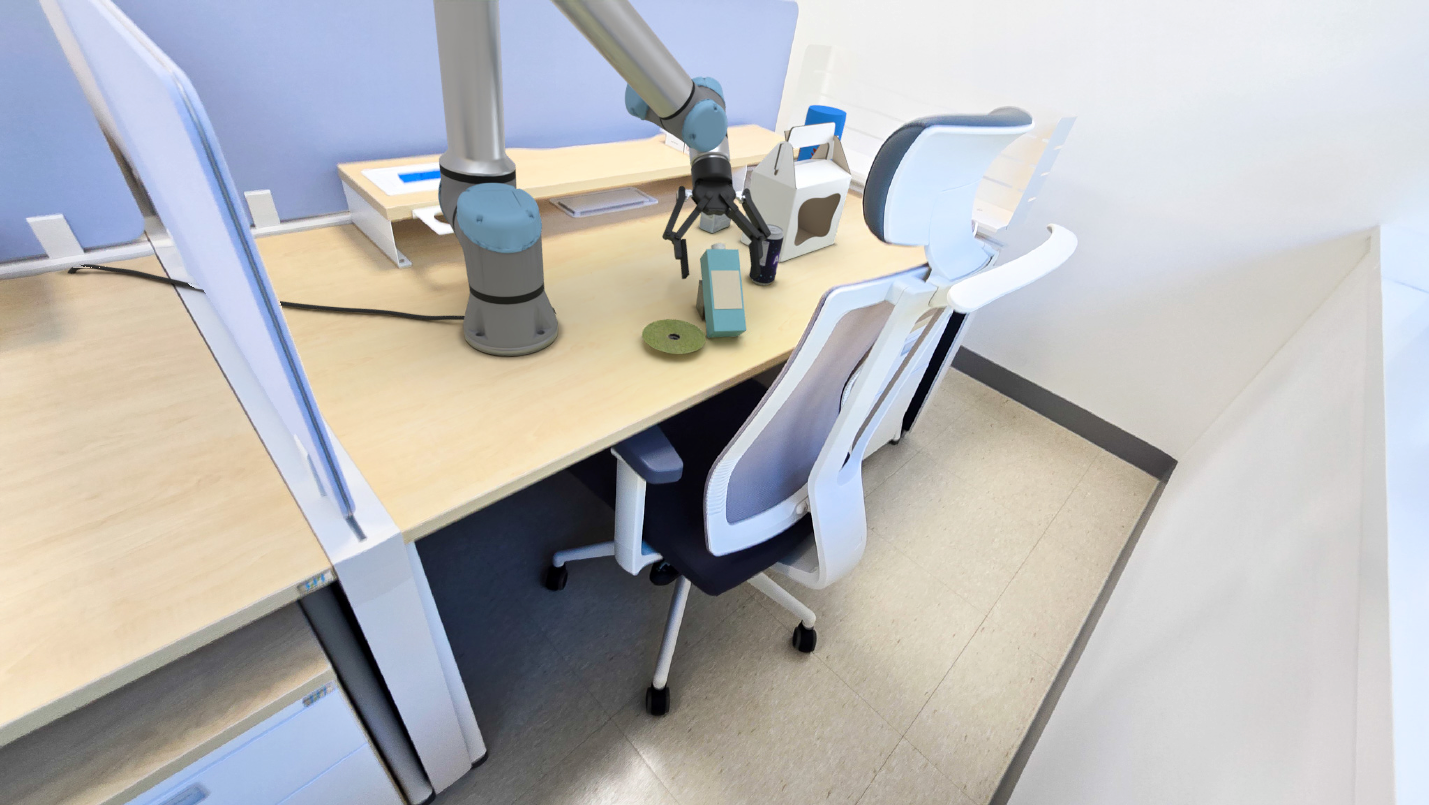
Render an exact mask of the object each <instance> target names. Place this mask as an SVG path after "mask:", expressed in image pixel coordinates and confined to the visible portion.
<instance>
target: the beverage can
mask: <svg viewBox="0 0 1429 805" xmlns="http://www.w3.org/2000/svg"><path fill="white" fill-rule="evenodd" d="M766 225H767V226H768V228H769V230H770V232H771V235H770V236H769V237H768V238H767V239H766V240H765V241H762V247H763V257H762V258H761V259H760V270H761V274H760V275H759V276H758V277H757V278H752V272H751V267H750V268H749V274H748V277H749V278H750V280H751V281H752V283H753V284H755V285H758V286H769V285H770V284H771V283H774V282H775V279H776V275H777V271H778V265H779V257H780V252H781V247H782V243H783V238H784V236H783V229H782V228H780V227H779V226H776V225H772V224H766Z"/></svg>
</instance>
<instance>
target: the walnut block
mask: <svg viewBox="0 0 1429 805" xmlns="http://www.w3.org/2000/svg"><path fill="white" fill-rule="evenodd" d="M695 308H696V310H697V313H698V315H699V316H700V320H702V321H706V319H705V308H704V297H703V286H702V279H699V280H698V288H697V296H696V303H695Z"/></svg>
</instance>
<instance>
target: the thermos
mask: <svg viewBox="0 0 1429 805" xmlns="http://www.w3.org/2000/svg"><path fill="white" fill-rule="evenodd" d="M804 120H805V121H804V125H811V124H819V123H827V122H834V123H835V130H834V135H838V136H839V137H838V138H839V139H840V142H841V141H842V136H843V133H844V129H845V124H846V120H847V112H846V111H845V110H843V109H841V108H837V107H833V106H828V105H820V104H811V105H809V106H808V109H807V111H806V115H805V119H804ZM820 145H821V144H819V145H813V146H807V147H801V148H798V155H797V157H796V158H797V159H796V162H797V161H803V160H808V159H811V158H812V156H813V155H814V154H815V152H816V151H817V149H818V148H819V146H820ZM830 160H832V159H830Z"/></svg>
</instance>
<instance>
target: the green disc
mask: <svg viewBox="0 0 1429 805" xmlns="http://www.w3.org/2000/svg"><path fill="white" fill-rule="evenodd" d="M641 337H642V339H643V341H644V342H645V343H646V345H649V346H650V347H651V348H653V349H655V350H657V351H660V352H663V353H667V354H673V355H675V354H676V355H685V354H691V353H692V352H695V351H699V350H700V349H701V348H702V347H704V345H705V344H706V341H707V337H706V334H705V332H704V331H703V330H702V329H701V328H699V327H698V326H697V325H695V324H693V323H690V322H688V321H686V320H681V319H676V318H673V319H672V318H671V319H670V318H667V319H659V320H655V321H652V322H651V323H649V324H646V325H645V327H644V328H643V329H642V332H641Z"/></svg>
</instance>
